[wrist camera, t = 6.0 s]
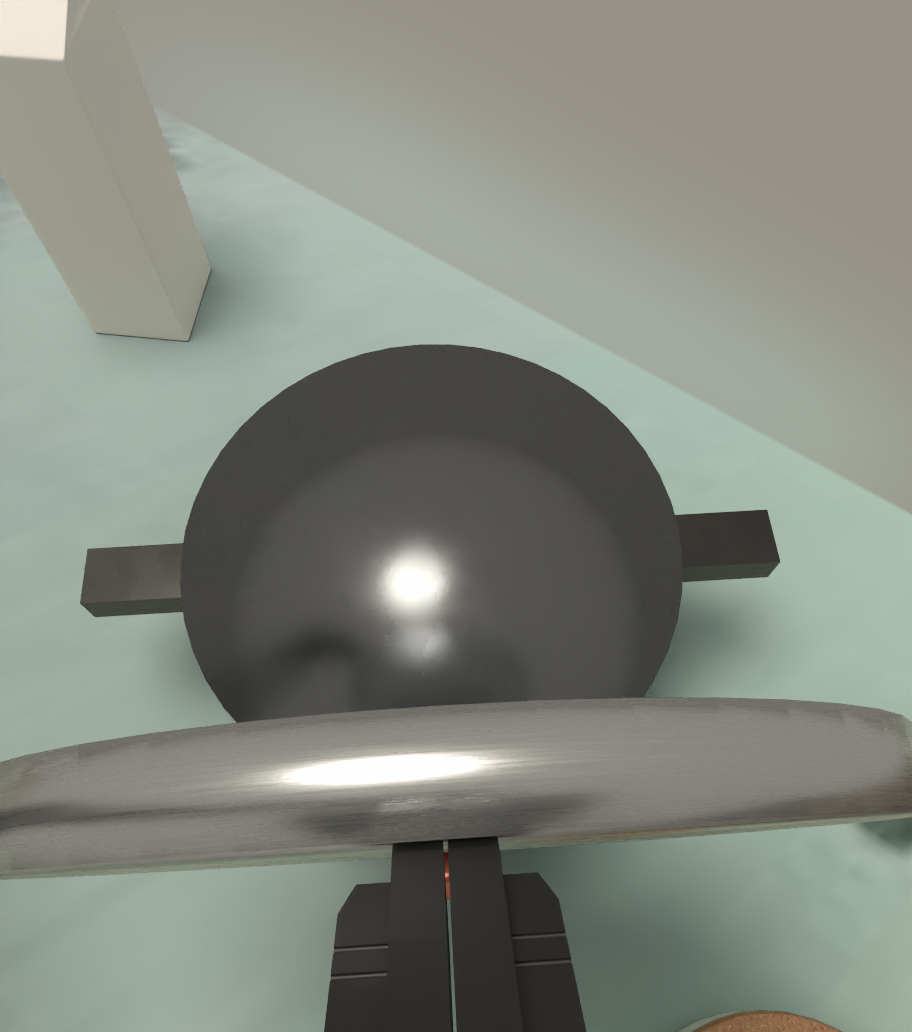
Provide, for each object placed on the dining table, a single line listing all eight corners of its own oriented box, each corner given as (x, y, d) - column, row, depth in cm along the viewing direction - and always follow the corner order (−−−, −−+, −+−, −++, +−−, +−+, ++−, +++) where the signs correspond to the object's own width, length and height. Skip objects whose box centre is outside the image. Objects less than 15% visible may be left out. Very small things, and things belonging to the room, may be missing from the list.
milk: (122, 261, 56) (-62, -116, 36) (213, 269, 56) (79, -108, 36) (93, 335, 53) (-122, -29, 33) (190, 344, 53) (30, -19, 33)
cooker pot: (757, 847, 40) (855, 814, 30) (137, 889, 39) (30, 869, 29) (676, 451, 49) (731, 328, 39) (175, 479, 49) (104, 361, 39)
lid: (735, 785, 30) (750, 871, 29) (151, 824, 30) (145, 913, 29) (1203, 657, 11) (1293, 887, 10) (-374, 756, 11) (-445, 1009, 10)
